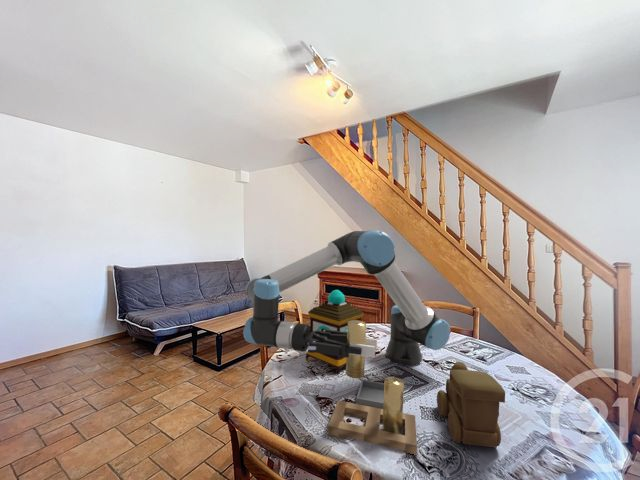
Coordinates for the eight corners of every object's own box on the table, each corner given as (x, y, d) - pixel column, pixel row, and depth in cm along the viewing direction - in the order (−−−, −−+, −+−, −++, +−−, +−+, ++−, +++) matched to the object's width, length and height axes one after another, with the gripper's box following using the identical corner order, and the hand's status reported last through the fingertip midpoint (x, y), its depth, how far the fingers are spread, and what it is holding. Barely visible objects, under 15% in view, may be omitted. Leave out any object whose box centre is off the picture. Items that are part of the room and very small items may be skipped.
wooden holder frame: (327, 435, 73) (328, 425, 73) (338, 408, 85) (338, 400, 85) (416, 456, 67) (417, 445, 67) (414, 424, 79) (415, 415, 78)
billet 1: (356, 368, 80) (357, 319, 80) (368, 375, 76) (370, 324, 76) (342, 372, 78) (344, 321, 78) (354, 380, 74) (355, 326, 73)
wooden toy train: (507, 461, 66) (510, 391, 66) (456, 455, 68) (459, 386, 68) (472, 409, 86) (474, 356, 86) (433, 406, 88) (435, 352, 87)
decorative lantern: (331, 348, 131) (333, 284, 131) (367, 361, 118) (370, 290, 117) (300, 361, 116) (302, 289, 116) (338, 378, 103) (341, 297, 102)
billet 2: (391, 425, 78) (393, 375, 78) (405, 436, 74) (407, 383, 74) (378, 431, 75) (380, 379, 75) (392, 443, 71) (394, 388, 71)
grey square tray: (361, 386, 98) (361, 379, 98) (397, 393, 94) (397, 385, 94) (356, 406, 86) (356, 398, 86) (396, 414, 83) (396, 405, 83)
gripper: (304, 338, 91) (378, 349, 84) (281, 361, 73) (371, 377, 67) (305, 315, 91) (379, 324, 84) (282, 333, 73) (372, 346, 67)
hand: (375, 348), depth 75 cm, fingers closed on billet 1, 5 cm apart
